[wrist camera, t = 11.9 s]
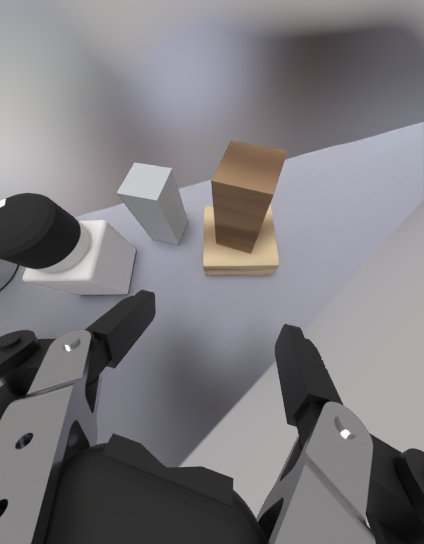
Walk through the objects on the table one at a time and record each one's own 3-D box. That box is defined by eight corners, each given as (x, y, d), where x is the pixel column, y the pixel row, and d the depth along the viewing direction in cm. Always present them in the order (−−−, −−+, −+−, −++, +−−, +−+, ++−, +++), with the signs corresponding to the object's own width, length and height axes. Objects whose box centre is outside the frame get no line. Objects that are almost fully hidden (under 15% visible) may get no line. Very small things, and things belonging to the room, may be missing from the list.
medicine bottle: (137, 248, 24) (65, 179, 13) (128, 294, 22) (31, 259, 11) (92, 249, 25) (-16, 183, 13) (79, 295, 22) (-67, 260, 11)
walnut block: (250, 254, 19) (273, 194, 11) (216, 243, 20) (211, 180, 11) (260, 224, 20) (287, 150, 12) (227, 215, 21) (230, 140, 13)
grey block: (179, 245, 24) (156, 200, 16) (152, 239, 25) (116, 193, 16) (187, 221, 26) (172, 168, 17) (162, 216, 26) (134, 162, 18)
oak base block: (269, 275, 22) (279, 265, 18) (205, 276, 23) (203, 266, 19) (262, 222, 25) (270, 204, 22) (206, 223, 26) (204, 206, 22)
